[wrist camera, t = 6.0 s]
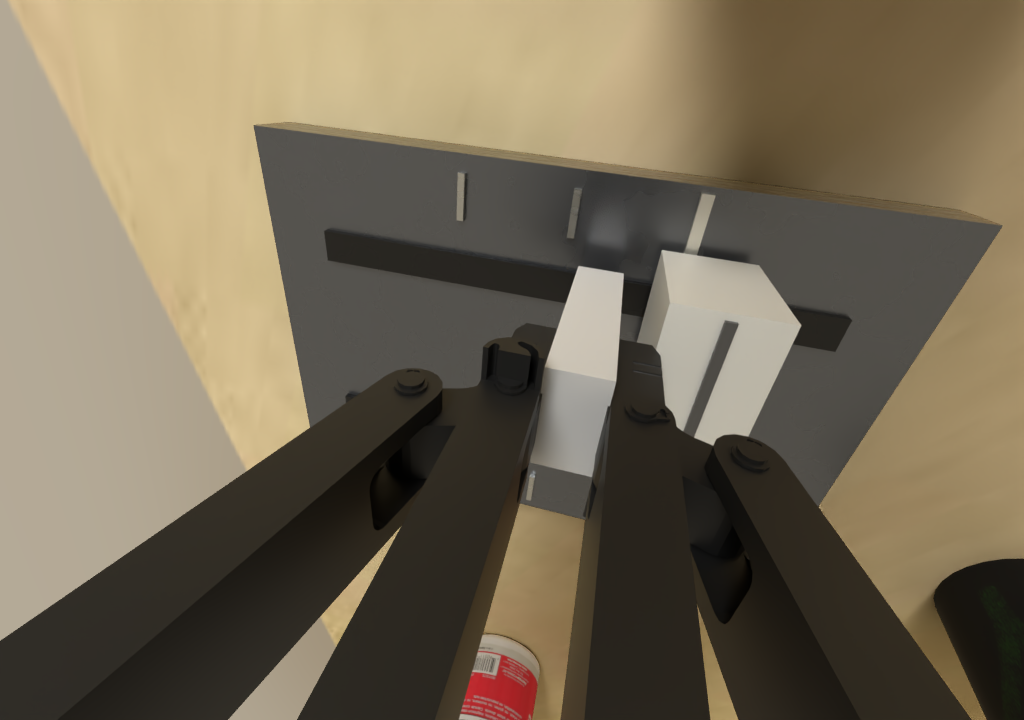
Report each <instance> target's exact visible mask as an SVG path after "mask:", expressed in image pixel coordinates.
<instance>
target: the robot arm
mask: <svg viewBox="0 0 1024 720" xmlns="http://www.w3.org/2000/svg"><path fill="white" fill-rule="evenodd" d="M623 279H624V273H618V272H612V271H606V270H600V269H594V268H588V267H582V266H578V269H577V272H576V275H575V278H574V281H573V284H572V287H571V290H570V293H569V296H568V299H567V302H566V305H565V308H564V311H563V314H562V317H561V320H560V323H559V326H558V329H557V328H551V327H546V326H541V325H536V324H530V323H526V324H524V325H522V326H521V327H519V328H517V329H516V330H515V332H514V333H513V335H512V337H505V338H497V339H494V340H491V341H489V342H488V343H486V344H485V345H484V346H483V354H482V370H481V380H480V382H479V384H478V385H477V386H474V387H469V388H442V387H443V382H442V380H441V379H440V378H439V376H438V375H436V374H434V373H433V372H431V371H428V370H424V369H420V368H406V369H401V370H396V371H394V372H392V373H390V374H388V375H386V376H384V377H383V378H382V379H380V380H379V381H377V382H376V383H374V384H373V385H371V386H370V387H369V388H367V389H366V390H364V391H363V392H361V393H360V394H358V395H357V396H355V397H354V398H353V399H351V400H350V401H348V402H347V403H345V404H344V405H342V406H341V407H339V408H338V409H337V410H335V411H334V412H332V413H331V414H329V415H328V416H326V417H325V418H323V419H322V420H321V421H319V422H318V423H316V424H315V425H313V426H312V427H310V428H309V429H307V430H306V431H305V432H303V433H302V434H300V435H299V436H297V437H296V438H294V439H293V440H291V441H290V442H289V443H287V444H286V445H284V446H283V447H281V448H280V449H278V450H277V451H276V452H274V453H273V454H271V455H270V456H268V457H267V458H265V459H264V460H262V461H261V462H260V463H258V464H257V465H255V466H254V467H252V468H251V469H249V470H248V471H246V472H245V473H244V474H242V475H241V476H239V477H238V478H236V479H235V480H233V481H232V482H230V483H229V484H228V485H226V486H225V487H223V488H222V489H220V490H219V491H217V492H216V493H215V494H213V495H212V496H210V497H209V498H207V499H206V500H204V501H203V502H201V503H200V504H199V505H197V506H196V507H194V508H193V509H191V510H190V511H188V512H187V513H185V514H184V515H183V516H181V517H180V518H178V519H177V520H175V521H174V522H173V523H171V524H170V525H168V526H167V527H165V528H164V529H162V530H161V531H159V532H158V533H156V534H155V535H154V536H152V537H151V538H149V539H148V540H146V541H145V542H143V543H142V544H140V545H139V546H137V547H136V548H135V549H133V550H132V551H130V552H129V553H127V554H126V555H124V556H123V557H122V558H120V559H119V560H117V561H116V562H114V563H113V564H112V565H110V566H109V567H107V568H106V569H104V570H103V571H101V572H100V573H98V574H97V575H95V576H94V577H93V578H91V579H90V580H88V581H87V582H85V583H84V584H82V585H81V586H79V587H78V588H77V589H75V590H74V591H72V592H71V593H69V594H68V595H66V596H65V597H64V598H62V599H61V600H59V601H58V602H56V603H55V604H53V605H52V606H50V607H49V608H48V609H46V610H44V611H43V612H42V613H40V614H39V615H37V616H36V617H34V618H33V619H32V620H30V621H28V622H27V623H26V624H24V625H23V626H21V627H20V628H18V629H17V630H15V631H14V632H13V633H11V634H10V635H8V636H7V637H5V638H4V639H2V640H1V641H0V720H228V719H229V718H230V717H231V716H232V714H233V713H234V712H235V711H236V710H237V709H238V708H239V707H240V706H241V704H242V703H243V702H244V701H245V700H246V699H247V698H248V697H249V695H250V694H251V693H252V692H253V691H254V690H255V689H256V688H257V687H258V685H259V684H260V683H261V682H262V681H263V680H264V678H265V677H266V676H267V675H268V674H269V673H270V672H271V671H272V670H273V669H274V667H275V666H276V665H277V664H278V663H279V662H280V661H281V660H282V658H283V657H284V656H285V655H286V654H287V653H288V652H289V651H290V650H291V648H292V647H293V646H294V645H295V644H296V643H297V642H298V641H299V640H300V638H301V637H302V636H303V635H304V634H305V633H306V632H307V630H308V629H309V628H310V627H311V626H312V625H313V624H314V623H315V622H316V620H317V619H318V618H319V617H320V616H321V615H322V614H323V613H324V612H325V610H326V609H327V608H328V607H329V606H330V605H331V604H332V603H333V602H334V600H335V599H336V598H337V597H338V596H339V595H340V594H341V593H342V591H343V590H344V589H345V588H346V587H347V586H348V585H349V584H350V583H351V581H352V580H353V579H354V578H355V577H356V576H357V575H358V574H359V572H360V571H361V570H362V569H363V568H364V567H365V566H366V565H367V564H368V562H369V561H370V560H371V559H372V558H373V557H374V556H375V555H376V553H377V552H378V551H379V550H380V549H381V548H382V547H383V546H384V544H385V543H386V542H387V541H388V540H389V539H390V538H391V537H392V536H393V534H394V533H395V532H396V531H397V530H398V529H399V528H400V527H401V528H400V530H399V532H398V534H397V535H396V537H395V539H394V541H393V543H392V545H391V547H390V548H389V550H388V552H387V554H386V556H385V558H384V560H383V561H382V563H381V565H380V567H379V569H378V571H377V572H376V574H375V576H374V578H373V580H372V582H371V584H370V585H369V587H368V589H367V591H366V593H365V595H364V597H363V598H362V600H361V602H360V604H359V606H358V608H357V610H356V611H355V613H354V615H353V617H352V619H351V621H350V623H349V624H348V626H347V628H346V630H345V632H344V634H343V635H342V637H341V639H340V641H339V643H338V645H337V647H336V648H335V650H334V652H333V654H332V656H331V658H330V660H329V661H328V663H327V665H326V667H325V669H324V671H323V673H322V674H321V676H320V678H319V680H318V682H317V684H316V686H315V687H314V689H313V691H312V693H311V695H310V697H309V698H308V700H307V702H306V704H305V706H304V708H303V710H302V712H301V713H300V715H299V717H298V719H297V720H459V717H460V713H461V710H462V706H463V703H464V699H465V696H466V692H467V689H468V685H469V682H470V678H471V674H472V671H473V667H474V664H475V660H476V657H477V653H478V650H479V646H480V643H481V639H482V635H483V632H484V628H485V625H486V621H487V618H488V614H489V611H490V607H491V603H492V600H493V596H494V593H495V589H496V586H497V582H498V579H499V575H500V572H501V568H502V564H503V561H504V557H505V554H506V550H507V547H508V543H509V540H510V536H511V532H512V529H513V525H514V522H515V518H516V515H517V511H518V508H519V504H520V501H521V497H522V493H523V490H524V486H525V483H526V479H527V473H528V466H529V461H530V463H534V464H538V465H543V466H547V467H551V468H555V469H560V470H564V471H568V472H572V473H576V474H581V475H585V476H589V477H592V474H593V478H592V482H591V486H590V490H589V494H588V498H587V501H586V505H585V509H584V513H583V517H586V518H585V526H584V534H583V543H582V551H581V559H580V567H579V575H578V583H577V591H576V599H575V607H574V616H573V624H572V632H571V640H570V648H569V656H568V664H567V672H566V680H565V689H564V697H563V705H562V713H561V720H710V714H709V705H708V696H707V688H706V679H705V670H704V662H703V653H702V644H701V636H700V627H699V618H698V610H697V605H698V608H699V610H700V613H701V616H702V619H703V622H704V624H705V627H706V630H707V633H708V636H709V638H710V641H711V644H712V647H713V650H714V652H715V655H716V658H717V661H718V664H719V666H720V669H721V672H722V675H723V678H724V680H725V683H726V686H727V689H728V692H729V694H730V697H731V700H732V703H733V706H734V708H735V711H736V714H737V717H738V720H971V718H970V717H969V716H968V714H967V713H966V711H965V710H964V709H963V707H962V706H961V704H960V703H959V702H958V700H957V699H956V697H955V696H954V695H953V693H952V692H951V691H950V689H949V688H948V686H947V685H946V684H945V682H944V681H943V679H942V678H941V677H940V675H939V674H938V673H937V671H936V670H935V668H934V667H933V666H932V664H931V663H930V661H929V660H928V659H927V657H926V656H925V654H924V653H923V652H922V650H921V649H920V648H919V646H918V645H917V643H916V642H915V641H914V639H913V638H912V636H911V635H910V634H909V632H908V631H907V630H906V628H905V627H904V625H903V624H902V623H901V621H900V620H899V618H898V617H897V616H896V614H895V613H894V611H893V610H892V609H891V607H890V606H889V605H888V603H887V602H886V600H885V599H884V598H883V596H882V595H881V593H880V592H879V591H878V589H877V588H876V587H875V585H874V584H873V582H872V581H871V580H870V578H869V577H868V575H867V574H866V573H865V571H864V570H863V569H862V567H861V566H860V564H859V563H858V562H857V560H856V559H855V557H854V556H853V555H852V553H851V552H850V550H849V549H848V548H847V546H846V545H845V544H844V542H843V541H842V539H841V538H840V537H839V535H838V534H837V532H836V531H835V530H834V528H833V527H832V526H831V524H830V523H829V521H828V520H827V519H826V517H825V516H824V514H823V513H822V512H821V510H820V509H819V507H818V506H817V505H816V503H815V502H814V501H813V499H812V498H811V496H810V495H809V494H808V492H807V491H806V489H805V488H804V487H803V485H802V484H801V483H800V481H799V480H798V478H797V477H796V476H795V474H794V473H793V471H792V470H791V469H790V467H789V466H788V464H787V463H786V462H785V460H784V459H783V458H782V457H781V456H780V455H779V454H778V453H777V452H776V451H775V450H774V449H772V448H771V447H769V446H767V445H766V444H764V443H763V442H761V441H759V440H756V439H754V438H751V437H748V436H743V435H737V434H730V435H723V436H721V437H719V438H717V439H716V441H715V443H714V445H711V444H708V443H706V442H703V441H701V440H699V439H696V438H694V437H692V436H690V435H688V434H686V433H685V432H683V431H682V430H680V429H679V428H678V427H677V426H676V420H675V417H674V415H673V413H672V411H671V410H670V409H669V408H668V407H667V406H666V405H665V396H664V386H663V378H662V376H663V375H662V369H661V368H662V364H661V356H660V354H659V353H658V352H657V351H656V349H655V348H654V347H653V346H652V345H648V344H643V343H638V342H633V341H627V340H622V339H619V335H620V321H621V307H622V293H623ZM530 458H531V459H530ZM593 470H594V471H593ZM401 525H402V526H401Z"/></svg>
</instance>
